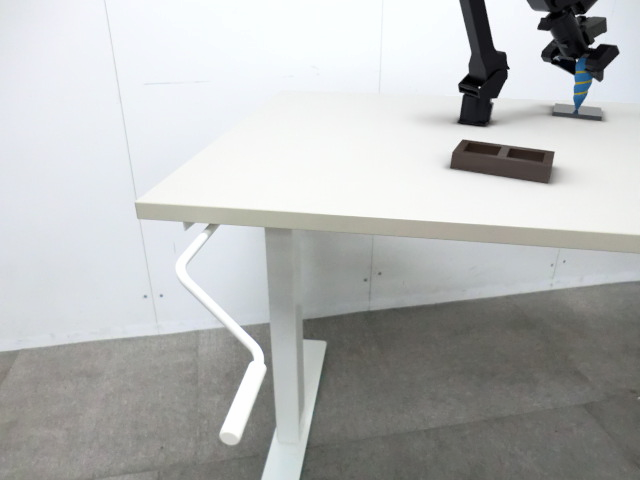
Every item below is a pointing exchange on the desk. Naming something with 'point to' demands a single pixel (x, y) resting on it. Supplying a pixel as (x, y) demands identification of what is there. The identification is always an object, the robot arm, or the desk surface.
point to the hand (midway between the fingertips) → (589, 78)
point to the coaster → (577, 111)
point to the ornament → (581, 83)
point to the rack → (503, 160)
